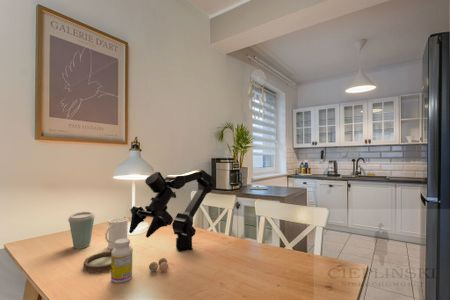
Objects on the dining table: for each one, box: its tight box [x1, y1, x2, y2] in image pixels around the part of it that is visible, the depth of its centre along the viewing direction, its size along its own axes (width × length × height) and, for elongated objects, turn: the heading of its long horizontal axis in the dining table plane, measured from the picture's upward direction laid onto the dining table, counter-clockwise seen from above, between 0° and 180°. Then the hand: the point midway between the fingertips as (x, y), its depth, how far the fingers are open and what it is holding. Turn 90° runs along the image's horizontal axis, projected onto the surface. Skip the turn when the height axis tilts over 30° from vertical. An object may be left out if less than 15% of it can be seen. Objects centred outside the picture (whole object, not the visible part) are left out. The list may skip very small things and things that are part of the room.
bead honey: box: [157, 257, 168, 267], centre depth 90 cm, size 3×3×3 cm
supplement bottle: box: [110, 238, 133, 284], centre depth 81 cm, size 7×7×13 cm
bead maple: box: [148, 261, 159, 273], centre depth 86 cm, size 3×3×3 cm
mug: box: [104, 217, 129, 250], centre depth 109 cm, size 12×8×12 cm
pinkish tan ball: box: [158, 262, 169, 273], centre depth 86 cm, size 3×3×3 cm
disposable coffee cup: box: [67, 211, 95, 250], centre depth 110 cm, size 11×11×15 cm
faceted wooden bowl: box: [82, 250, 112, 274], centre depth 92 cm, size 14×14×2 cm
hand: (138, 234), depth 87 cm, fingers open, 9 cm apart
